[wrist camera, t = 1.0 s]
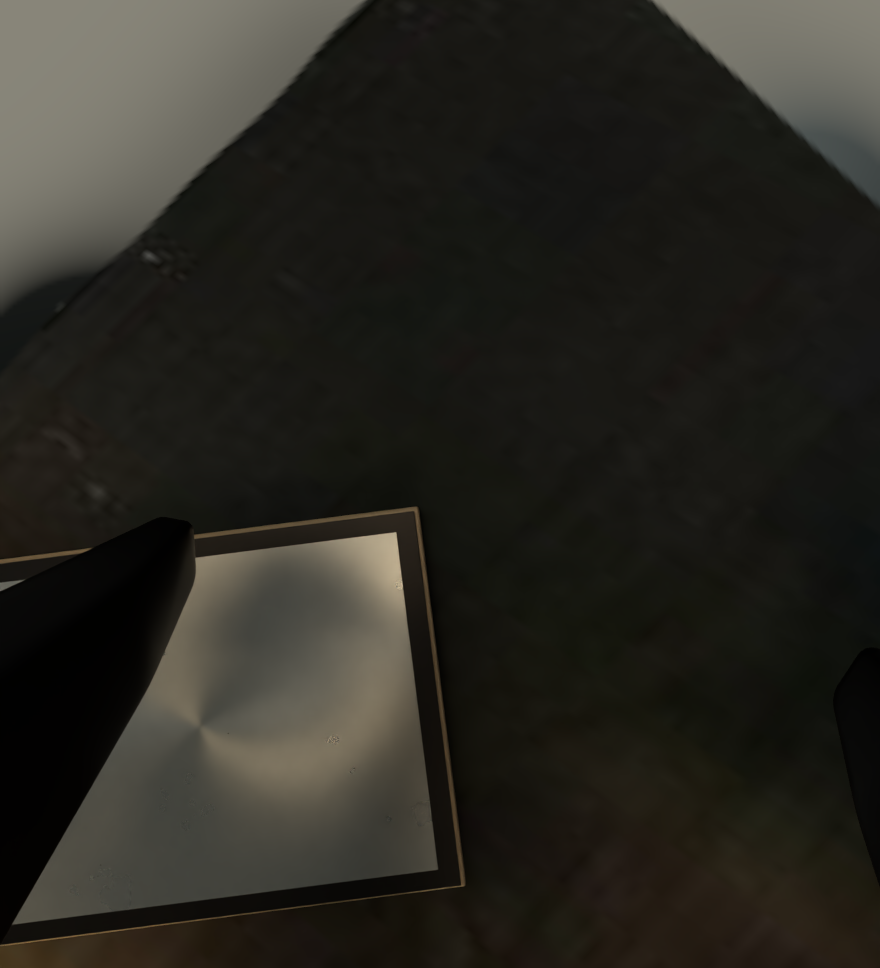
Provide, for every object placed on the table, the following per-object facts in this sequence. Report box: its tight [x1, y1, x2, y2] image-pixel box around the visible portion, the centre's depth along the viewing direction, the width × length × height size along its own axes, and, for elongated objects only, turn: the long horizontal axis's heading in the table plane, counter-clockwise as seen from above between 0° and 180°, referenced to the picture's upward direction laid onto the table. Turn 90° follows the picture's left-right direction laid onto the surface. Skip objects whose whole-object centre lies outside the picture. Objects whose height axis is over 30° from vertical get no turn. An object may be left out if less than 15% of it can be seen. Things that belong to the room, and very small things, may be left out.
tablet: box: [0, 506, 466, 946], centre depth 24 cm, size 13×16×1 cm
